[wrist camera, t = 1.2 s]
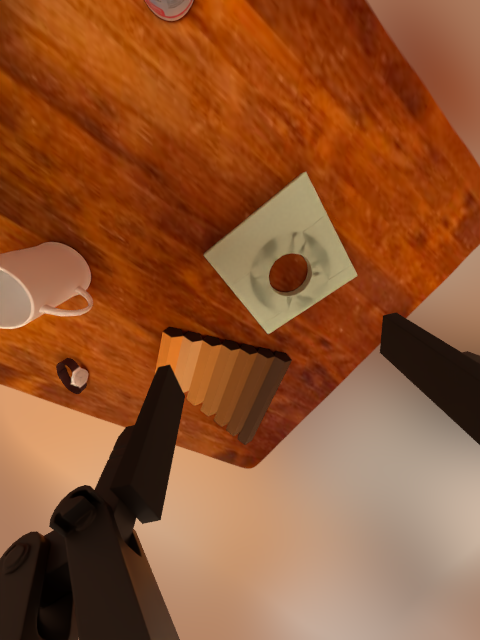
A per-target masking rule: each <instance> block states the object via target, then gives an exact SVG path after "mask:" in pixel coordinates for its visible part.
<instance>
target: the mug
mask: <svg viewBox="0 0 480 640" xmlns="http://www.w3.org/2000/svg"><path fill="white" fill-rule="evenodd" d="M90 282H91V272H90V269H89V266H88V264H87V262H86V261H85V259H84V258H83V257H82V256H81V255H80V254H79V253H78V252H77V251H76V250H74V249H73V248H71V247H69V246H67V245H65V244H62V243H57V242H46V243H42V244H40V245H38V246H36V247H31V248H27V249H22V250H17V251H12V252H7V253H3V254H0V328H4V329H13V328H18V327H21V326H24V325H26V324H27V323H29V322H31V321H33V320H34V319H36V318H38V317H39V316H41V315H43V314H44V313H47V314H52V315H57V316H77V315H81V314H84V313H86V312H88V311H89V310H90V309H91V308H92V306H93V299H92V297H91V295H90V294H89V293H88V292H87V291H86V290H87V288H88V287H89V285H90ZM79 294H80V295H82V296H83V297H84V298H85V299H86V300H87V301H88V306H87V307H86V308H84V309H80V310H62V309H57V308H54V307H56V306H58V305H60V304H61V303H63V302H65V301H66V300H68V299H70V298H71V297H73V296H76V295H79Z"/></svg>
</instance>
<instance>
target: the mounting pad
mask: <svg viewBox="0 0 480 640" xmlns="http://www.w3.org/2000/svg"><path fill="white" fill-rule="evenodd" d="M290 253H294V254H300V255H302V256H303V257H304V259H305V260H306V262H307V266H308V273H307V277H306V279H305V281H304V282H303V284H302V285H301V286H300V287H298V288H297V289H295V290H294V291H290V292H279V291H277V290H275V289H274V288H272V286H271V285H270V282H269V272H270V268H271V267H272V265H273V264H274V262H275V261H276V260H277V259H279V258H280V257H281V256H283V255H286V254H290ZM204 257H205V258H206V259H207V260H208V261H209V263H210V264H211V265H212V266H213V268H214V269H215V270H216V271H217V273H218V274H219V275H220V276H221V277H222V279H223V280H224V281H225V282H226V284H227V285H228V286H229V287H230V288H231V290H232V291H233V292H234V293H235V295H236V296H237V297H238V298H239V299H240V301H241V302H242V303H243V304H244V306H245V307H246V308H247V309H248V310H249V312H250V313H251V314H252V315H253V317H254V318H255V319H256V320H257V321H258V323H259V324H260V325H261V326H262V328H263V329H264V330H265V331H266V332H267V334H270V333H271V332H273V331H274V330H276V329H277V328H279V327H280V326H282V325H283V324H285V323H286V322H288V321H289V320H291V319H292V318H294V317H295V316H297V315H298V314H300V313H302V312H303V311H305V310H306V309H308V308H309V307H311V306H312V305H314V304H315V303H317V302H318V301H320V300H321V299H323V298H324V297H326V296H327V295H329V294H330V293H332V292H333V291H335V290H336V289H338V288H339V287H341V286H343V285H344V284H346V283H347V282H349V281H350V280H352V279H353V278H355V277H356V276H357V273H356V271H355V269H354V267H353V265H352V263H351V261H350V259H349V257H348V255H347V253H346V251H345V249H344V247H343V245H342V243H341V241H340V239H339V237H338V235H337V233H336V231H335V229H334V227H333V225H332V223H331V221H330V219H329V217H328V215H327V213H326V211H325V209H324V207H323V205H322V203H321V201H320V199H319V197H318V195H317V193H316V191H315V189H314V187H313V185H312V183H311V181H310V179H309V177H308V175H307V173H306V172H304V173H301V174H300V175H299V176H297V177H296V178H295V179H294V180H293V181H291V182H290V183H289V184H288V185H286V186H285V187H284V188H283V189H282V190H280V191H279V192H278V193H277V194H275V195H274V196H273V197H272V198H271V199H269V200H268V201H267V202H266V203H265V204H263V205H262V206H261V207H260V208H258V209H257V210H256V211H255V212H254V213H252V214H251V215H250V216H249V217H247V218H246V219H245V220H244V221H243V222H241V223H240V224H239V225H238V226H237V227H235V228H234V229H233V230H232V231H230V232H229V233H228V234H227V235H226V236H224V237H223V238H222V239H221V240H219V241H218V242H217V243H216V244H215V245H213V246H212V247H211V248H210V249H208V250H207V251H206V252H205V253H204Z"/></svg>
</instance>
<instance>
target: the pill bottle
mask: <svg viewBox="0 0 480 640" xmlns="http://www.w3.org/2000/svg"><path fill="white" fill-rule="evenodd" d="M193 1H194V0H145V2H146V4H147V5H148V7H149V8H150V9H151V10H152V11H153V12H154V13H155V14H156V15H157V16H158V17H160V18H162V19H164V20H167V21H175V20H178V19H180V18H182V17H183V16H184V15H185V14H186V13H187V12H188V10H189V9H190V7H191V5H192V3H193Z"/></svg>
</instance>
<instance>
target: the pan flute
mask: <svg viewBox="0 0 480 640" xmlns="http://www.w3.org/2000/svg"><path fill="white" fill-rule="evenodd" d="M291 361H292V360H291V359H290V358H289V356H288V355H287V354H286V353H282V352H278V351H276V352H275V354H273V353H272V352H271V351H270V350H269V349H265V348H261V347H260V348H259V350H258V352H257V351H256V349H255V348H254V346H252V345H247V344H242V346H241V348H239V346H238V344H237V343H236V342H234V341H230V340H225V341H224V342H223V344H221V342H220V340H219V338H217V337H212V336H208V335H207V336H206V337H205V338H204V340H202V337H201V335H200V334H199V333H195V332H190V331H188V332H187V333H186V334H185V335H184V336H183V334H182V330H181V329H177V328H173V327H168V328H167V329H166V330H164V331H163V333H162V339H161V344H160V350H159V355H158V361H157V366H156V371H157V369H158V367H161V366H165V365H171V368H172V370H173V372H174V374H175V376H176V378H177V380H178V382H179V384H180V387H181V389H182V391H183V392H186V391H189V392H188V396H187V400H188V401H189V402H190V403H192V404H193V405H194V406H195V405H197V404H200V403H202V402H203V404H202V407H201V411H202V412H203V413H204V414H206V415H207V416H211V415H213V414H215V413H216V416H215V418H214V421H215V422H216V423H217V424H219V425H220V426H221V427H222V426H224V425H226V424H228V426H227V429H226V430H227V431H228V432H229V433H230V434H231V435H233V436H235V435H236V434H238V433H239V435H238V440H239V441H241V442H242V443H243V444H244V445H246V444H247V443H249V442H250V441H252V439H253V437H254V435H255V433H256V431H257V429H258V427H259V425H260V423H261V421H262V419H263V417H264V415H265V413H266V411H267V409H268V407H269V405H270V403H271V401H272V399H273V397H274V395H275V393H276V391H277V389H278V387H279V385H280V383H281V381H282V379H283V377H284V375H285V373H286V371H287V369H288V367H289V365H290V363H291ZM155 374H156V372H155Z"/></svg>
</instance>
